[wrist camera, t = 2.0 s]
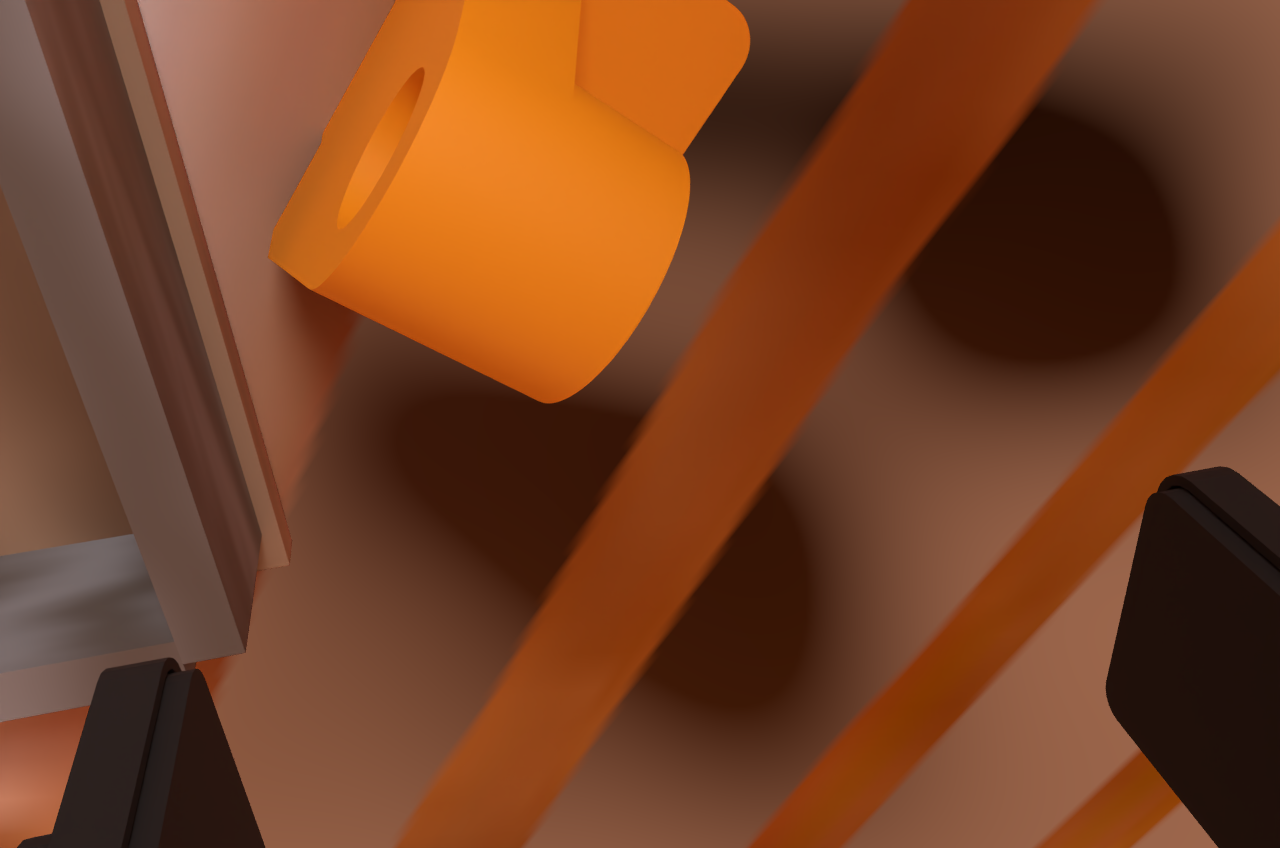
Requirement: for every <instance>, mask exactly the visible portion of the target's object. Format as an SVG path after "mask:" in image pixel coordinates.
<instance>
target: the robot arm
mask: <svg viewBox="0 0 1280 848" xmlns="http://www.w3.org/2000/svg"><path fill="white" fill-rule="evenodd" d="M1106 695H1107V699H1108V703H1109V706H1110V708H1111V711H1112V713H1113V715H1114V716H1115V718H1116V719H1117V721H1118V722H1119V723H1120V724H1121V726H1122V727H1123V728H1124V729H1125V731H1126V732H1127V733H1128V734H1129V736H1130V737H1131V738H1132V739H1133V741H1134V742H1135V743H1136V744H1137V746H1138V747H1139V748H1140V750H1141V751H1142V752H1143V753H1144V755H1145V756H1146V757H1147V758H1148V760H1149V761H1150V762H1151V763H1152V765H1153V766H1154V767H1155V768H1156V770H1157V771H1158V772H1159V773H1160V775H1161V776H1162V777H1163V779H1164V780H1165V781H1166V782H1167V784H1168V785H1169V786H1170V787H1171V789H1172V790H1173V791H1174V792H1175V794H1176V795H1177V796H1178V797H1179V799H1180V800H1181V801H1182V802H1183V804H1184V805H1185V806H1186V807H1187V808H1188V810H1189V811H1190V812H1191V814H1192V815H1193V816H1194V818H1195V819H1196V820H1197V821H1198V823H1199V824H1200V825H1201V826H1202V827H1203V829H1204V830H1205V831H1206V833H1207V834H1208V835H1209V836H1210V838H1211V839H1212V840H1213V841H1214V843H1215V844H1216V845H1217V846H1218V848H1280V506H1279V505H1277V504H1276V503H1275V502H1274V501H1272V500H1271V499H1270V498H1269V497H1267V496H1266V495H1265V494H1264V493H1262V492H1261V491H1260V490H1258V489H1257V488H1256V487H1255V486H1254V485H1252V484H1251V483H1250V482H1249V481H1247V480H1246V479H1245V478H1244V477H1242V476H1241V475H1240V474H1239V473H1237V472H1235V471H1234V470H1232V469H1230V468H1227V467H1214V468H1209V469H1203V470H1198V471H1192V472H1187V473H1181V474H1176V475H1172V476H1169V477H1166V478H1165V479H1164V480H1163V481H1162V482H1161V484H1160V486H1159V488H1158V491H1157V493H1154V494H1152V495H1151V496H1150V497H1149V498H1148V500H1147V503H1146V506H1145V510H1144V514H1143V519H1142V523H1141V528H1140V532H1139V537H1138V541H1137V546H1136V550H1135V555H1134V559H1133V564H1132V569H1131V573H1130V578H1129V582H1128V586H1127V591H1126V595H1125V600H1124V604H1123V609H1122V613H1121V618H1120V622H1119V627H1118V631H1117V636H1116V640H1115V644H1114V649H1113V653H1112V658H1111V663H1110V667H1109V671H1108V676H1107V680H1106ZM17 848H265V845H264V842H263V840H262V837H261V834H260V831H259V829H258V826H257V823H256V820H255V817H254V814H253V812H252V809H251V806H250V803H249V801H248V798H247V795H246V792H245V789H244V787H243V784H242V781H241V778H240V776H239V773H238V770H237V767H236V764H235V761H234V759H233V756H232V753H231V750H230V747H229V745H228V742H227V739H226V736H225V734H224V731H223V728H222V725H221V722H220V720H219V717H218V714H217V711H216V708H215V706H214V703H213V700H212V697H211V694H210V692H209V689H208V686H207V683H206V681H205V678H204V676H203V674H202V672H201V671H200V670H199V669H192V670H187V671H182V670H181V668H180V666H179V664H178V662H177V661H176V660H175V659H174V658H171V657H167V658H162V659H156V660H151V661H145V662H140V663H134V664H129V665H123V666H118V667H112V668H107V669H105V670H104V671H103V672H102V673H101V674H100V677H99V679H98V681H97V684H96V688H95V691H94V694H93V698H92V701H91V705H90V708H89V711H88V715H87V718H86V721H85V725H84V728H83V731H82V735H81V738H80V742H79V745H78V748H77V752H76V755H75V758H74V762H73V765H72V768H71V772H70V775H69V779H68V782H67V785H66V789H65V792H64V795H63V799H62V802H61V805H60V809H59V812H58V816H57V819H56V822H55V826H54V829H53V832H52V834H49V835H44V836H39V837H34V838H30V839H26V840H23V841H22V842H21V844H20V845H19V846H18V847H17Z"/></svg>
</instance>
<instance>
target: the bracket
mask: <svg viewBox="0 0 1280 848" xmlns="http://www.w3.org/2000/svg"><path fill="white" fill-rule="evenodd" d="M749 48H750V32H749V28H748V25H747V22H746V20H745V18H744V16H743V15H742V13H741V12H740V11H739V10H738V9H737V8H736V7H735V6H734V5H732V4H731V3H730V2H728V1H727V0H396V1H395V3H394V5H393V7H392V8H391V10H390V12H389V14H388V16H387V18H386V19H385V21H384V23H383V25H382V27H381V28H380V30H379V32H378V34H377V36H376V38H375V39H374V41H373V43H372V45H371V47H370V48H369V50H368V52H367V54H366V56H365V58H364V59H363V61H362V63H361V65H360V67H359V68H358V70H357V72H356V74H355V76H354V78H353V79H352V81H351V83H350V85H349V87H348V88H347V90H346V92H345V94H344V96H343V98H342V99H341V101H340V103H339V105H338V107H337V108H336V110H335V112H334V114H333V116H332V118H331V119H330V121H329V123H328V125H327V127H326V128H325V130H324V132H323V135H322V143H321V144H320V146H319V148H318V150H317V152H316V154H315V155H314V157H313V159H312V161H311V163H310V164H309V166H308V168H307V170H306V172H305V173H304V175H303V177H302V179H301V181H300V183H299V184H298V186H297V188H296V190H295V192H294V193H293V195H292V197H291V199H290V201H289V202H288V204H287V206H286V208H285V210H284V212H283V213H282V215H281V217H280V219H279V221H278V222H277V224H276V226H275V228H274V230H273V235H272V240H271V245H270V250H269V254H268V258H269V259H271V260H272V261H273V262H274V263H276V264H277V265H278V266H280V267H281V268H282V269H284V270H285V271H286V272H288V273H289V274H290V275H291V276H293V277H294V278H295V279H297V280H298V281H299V282H301V283H302V284H303V285H305V286H306V287H307V288H308V289H310V290H312V291H314V292H316V293H318V294H320V295H322V296H324V297H326V298H328V299H331V300H333V301H335V302H337V303H339V304H341V305H343V306H345V307H347V308H349V309H351V310H353V311H355V312H357V313H359V314H361V315H363V316H365V317H367V318H369V319H371V320H374V321H376V322H378V323H380V324H382V325H384V326H386V327H388V328H390V329H392V330H394V331H396V332H398V333H400V334H403V335H404V336H406V337H408V338H410V339H413V340H415V341H417V342H419V343H421V344H423V345H425V346H427V347H429V348H431V349H433V350H435V351H437V352H439V353H441V354H443V355H445V356H447V357H449V358H451V359H453V360H456V361H457V362H460V363H462V364H464V365H466V366H468V367H470V368H472V369H474V370H476V371H478V372H480V373H482V374H484V375H486V376H488V377H491V378H492V379H494V380H496V381H498V382H501V383H503V384H505V385H507V386H509V387H511V388H513V389H515V390H517V391H519V392H521V393H523V394H525V395H527V396H529V397H531V398H533V399H535V400H538V401H540V402H542V403H555V402H559V401H562V400H564V399H566V398H568V397H570V396H572V395H573V394H575V393H577V392H578V391H579V390H581V389H582V388H583V387H585V386H586V385H587V384H588V383H590V382H591V381H592V380H593V379H594V378H595V377H596V376H597V375H598V374H599V373H600V372H601V371H602V370H603V369H604V368H605V367H606V366H607V365H608V363H609V362H610V361H611V360H612V359H613V358H614V357H615V355H616V354H617V353H618V351H619V350H620V349H621V348H622V346H623V345H624V344H625V342H626V341H627V340H628V338H629V337H630V335H631V334H632V333H633V331H634V330H635V328H636V327H637V325H638V324H639V322H640V321H641V319H642V317H643V316H644V314H645V312H646V311H647V309H648V307H649V306H650V304H651V302H652V300H653V298H654V296H655V295H656V293H657V291H658V289H659V287H660V285H661V283H662V281H663V279H664V277H665V275H666V272H667V270H668V268H669V265H670V263H671V261H672V258H673V256H674V253H675V250H676V248H677V245H678V242H679V239H680V236H681V233H682V230H683V226H684V222H685V218H686V214H687V208H688V203H689V195H690V173H689V168H688V164H687V162H686V160H685V158H684V156H683V154H684V152H685V151H686V149H687V148H688V146H689V145H690V143H691V142H692V140H693V139H694V137H695V136H696V134H697V133H698V131H699V130H700V129H701V127H702V126H703V124H704V123H705V121H706V119H707V118H708V117H709V115H710V114H711V112H712V111H713V109H714V108H715V107H716V105H717V104H718V102H719V101H720V99H721V98H722V96H723V95H724V93H725V92H726V90H727V89H728V87H729V86H730V84H731V83H732V82H733V80H734V78H735V77H736V76H737V74H738V73H739V71H740V70H741V68H742V67H743V65H744V63H745V61H746V59H747V56H748V52H749Z"/></svg>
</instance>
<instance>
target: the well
mask: <svg viewBox="0 0 1280 848" xmlns="http://www.w3.org/2000/svg"><path fill="white" fill-rule="evenodd" d="M291 546H292V539H291V536H290V532H289V529H288V525H287V522H286V518H285V515H284V512H283V508H282V505H281V501H280V498H279V494H278V491H277V487H276V484H275V480H274V477H273V473H272V470H271V466H270V463H269V459H268V456H267V452H266V449H265V445H264V442H263V438H262V435H261V431H260V428H259V424H258V421H257V417H256V414H255V410H254V407H253V403H252V400H251V397H250V393H249V390H248V386H247V383H246V379H245V376H244V372H243V369H242V365H241V362H240V358H239V355H238V351H237V348H236V344H235V341H234V337H233V334H232V330H231V327H230V323H229V320H228V316H227V313H226V309H225V306H224V302H223V299H222V295H221V292H220V288H219V285H218V281H217V278H216V275H215V271H214V268H213V264H212V261H211V257H210V254H209V250H208V247H207V243H206V240H205V236H204V233H203V229H202V226H201V222H200V219H199V215H198V212H197V208H196V205H195V201H194V198H193V194H192V191H191V187H190V184H189V180H188V177H187V173H186V170H185V166H184V163H183V160H182V156H181V153H180V149H179V146H178V142H177V139H176V135H175V132H174V128H173V125H172V121H171V118H170V114H169V111H168V107H167V104H166V100H165V97H164V93H163V90H162V86H161V83H160V79H159V76H158V72H157V69H156V65H155V62H154V58H153V55H152V51H151V48H150V44H149V41H148V38H147V34H146V31H145V27H144V24H143V20H142V17H141V13H140V10H139V6H138V3H137V0H0V722H4V721H9V720H15V719H20V718H25V717H31V716H36V715H41V714H47V713H52V712H57V711H63V710H68V709H73V708H79V707H84V706H89V705H91V701H92V698H93V694H94V691H95V688H96V684H97V681H98V679H99V677H100V674H101V673H102V672H103V671H104V670H105V669H107V668H112V667H118V666H123V665H129V664H134V663H140V662H145V661H151V660H156V659H162V658H167V657H171V658H174V659H175V660H176V661H177V662H178V664H179V666H180V668H181V670H182V671H187V670H192V669H195V665H196V662H198V661H204V660H209V659H215V658H220V657H226V656H231V655H236V654H242V653H245V652H246V646H247V639H248V631H249V624H250V617H251V610H252V602H253V595H254V588H255V581H256V573H257V571H260V570H266V569H272V568H277V567H283V566H289V565H290V556H291Z"/></svg>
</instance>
